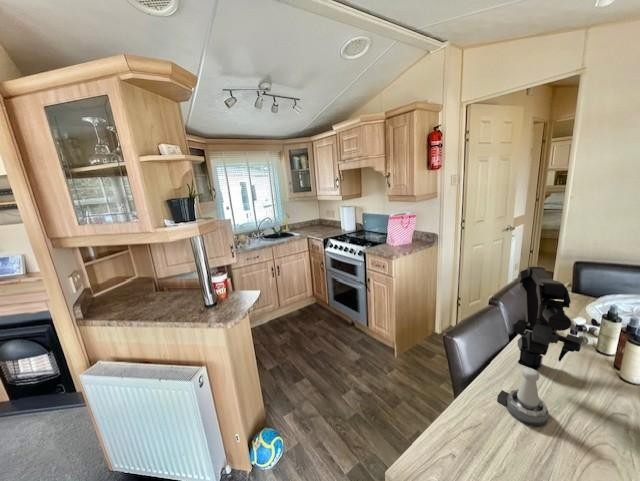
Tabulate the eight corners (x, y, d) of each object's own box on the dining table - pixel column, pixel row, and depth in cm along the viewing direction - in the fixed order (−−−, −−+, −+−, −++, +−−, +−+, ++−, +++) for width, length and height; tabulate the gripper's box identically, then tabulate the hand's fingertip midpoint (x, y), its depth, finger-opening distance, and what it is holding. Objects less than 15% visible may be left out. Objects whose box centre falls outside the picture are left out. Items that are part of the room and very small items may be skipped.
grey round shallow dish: (493, 406, 92) (494, 395, 91) (504, 390, 99) (505, 380, 98) (542, 433, 82) (543, 421, 81) (551, 413, 88) (553, 402, 87)
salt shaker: (538, 402, 89) (542, 369, 86) (538, 414, 85) (543, 379, 82) (516, 395, 93) (520, 362, 90) (515, 406, 88) (519, 372, 86)
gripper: (509, 314, 97) (505, 352, 100) (579, 335, 82) (572, 379, 85) (519, 305, 103) (515, 340, 106) (586, 322, 89) (579, 363, 92)
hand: (542, 354), depth 97 cm, fingers open, 9 cm apart
